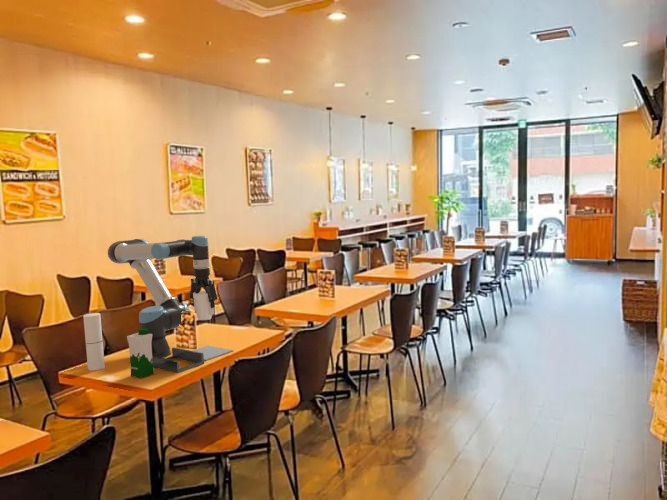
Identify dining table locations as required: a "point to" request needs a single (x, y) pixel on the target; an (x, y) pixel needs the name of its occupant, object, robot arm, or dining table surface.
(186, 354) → the cup stand
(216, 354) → the mat
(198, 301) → the foam cup
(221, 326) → the dining table surface
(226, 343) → the dining table surface
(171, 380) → the dining table surface
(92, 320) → the cylindrical container
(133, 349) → the milk carton
